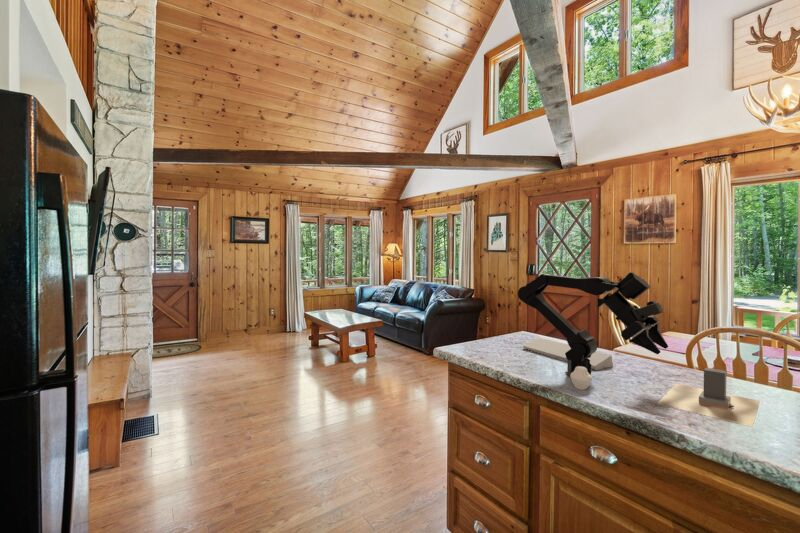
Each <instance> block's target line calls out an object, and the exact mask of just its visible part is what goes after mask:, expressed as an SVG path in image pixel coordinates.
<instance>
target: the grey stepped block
mask: <svg viewBox="0 0 800 533" xmlns="http://www.w3.org/2000/svg"><path fill="white" fill-rule="evenodd" d="M727 372H728V371H727V370H722V369H716V368H711V367H705V368H704V369H703V389H704V391H702V393H701V394H700V396H699V403H700V404H705V405H709V406H714V407H718V408H723V409H727V410H728V408H729V406H730V403H731V397H730V396H726V394H727Z"/></svg>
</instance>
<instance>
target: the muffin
mask: <svg viewBox="0 0 800 533" xmlns="http://www.w3.org/2000/svg"><path fill="white" fill-rule="evenodd" d="M569 377H570V380H571V382H572V384H573V386H574V388H576V389H577V390H580V391H581V390H582V391H583V390H584V391H585V390H587V389H588V387H589V386H590V384H591V381H593V380H592V379H593V376H592V374H591V375H590V374H589V373H588V372H587V369H586V368H585V367H583V366H577V367H576V368H575V370H574V371H573V372H572V373H571V374H570V376H569Z"/></svg>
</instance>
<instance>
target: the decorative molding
mask: <svg viewBox="0 0 800 533" xmlns="http://www.w3.org/2000/svg"><path fill="white" fill-rule="evenodd" d="M522 348H523V349H524V348H525V349H524V350H526V349H528V350H527V351H529V350H531V351H530V352H533V351H534V352H533V353H536V352H537V354H539V353H541V354H540V355H543V354H544V355H543V356H546V355H547V357H550V358H553V359H556V358H557V360H560V361H563V362H566V363H568V360H567V358H566V355H565V353H566V352H567V351H569V350H570V349H571V348H570V346H569V345H568V343H567V344H566V343H563V342H558V341H555V340H551V339H547V338H543V337H539V336H538V337H535V338H534V339H532V340H531V341H529V342H526V343H525V344H523V345H522ZM588 359H589V360H590V364H591V370H594V371H598V370H599V371H600V370H603V369H605V368H613V367H614V363H613V356H612V355H611V354H607V353H605V352H604V353H603V352H600V351H596V352H594V353H593V354H592V355H591V357H590V358H588Z"/></svg>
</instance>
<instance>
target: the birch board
mask: <svg viewBox="0 0 800 533" xmlns="http://www.w3.org/2000/svg"><path fill="white" fill-rule="evenodd" d="M702 391H704V388H701V387H700V388H699V387H696V386H691V385H685V384H683V383H682V384H680V383H675V384H674V385H673V387H671V389H670V390H668V391H667V393H666V394H665V395H664V396H663V397H662V398H661V399H660V400H659V401H658V402H657V405H661V406H666V407H669V408H674V409H678V410H681V411H686V412H690V413H693V414H698V415H702V416H707V417H709V418H714V419H718V420H722V421H726V422H730V423H734V424H737V425H742V426H746V427H751V428H753V426H754V422H755V419H756V416H757V412H758V409H759V405H760V400H758V399H753V398H748V397H744V396H739V395H733V394H729V393H726V396H730V397H731V403H730V406H729V408H728V410H727V409H723V408H718V407H714V406H709V405H705V404H700V403H699V396H700V394H701V393H702Z"/></svg>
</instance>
